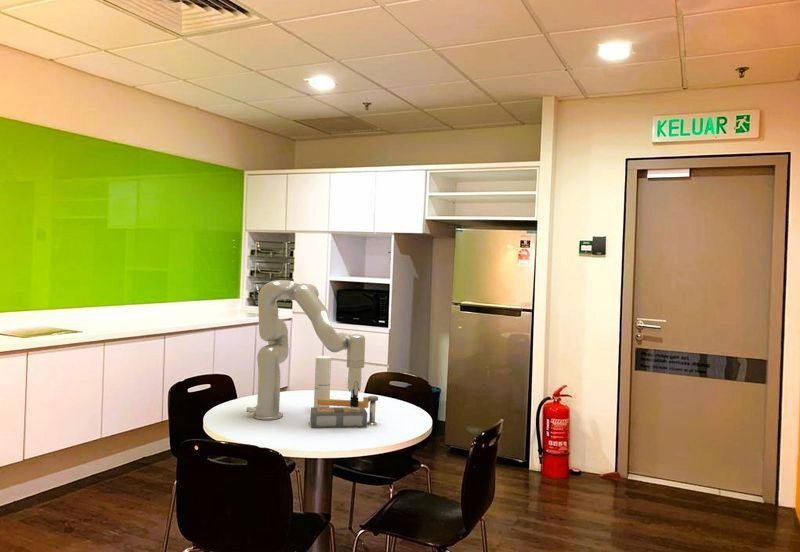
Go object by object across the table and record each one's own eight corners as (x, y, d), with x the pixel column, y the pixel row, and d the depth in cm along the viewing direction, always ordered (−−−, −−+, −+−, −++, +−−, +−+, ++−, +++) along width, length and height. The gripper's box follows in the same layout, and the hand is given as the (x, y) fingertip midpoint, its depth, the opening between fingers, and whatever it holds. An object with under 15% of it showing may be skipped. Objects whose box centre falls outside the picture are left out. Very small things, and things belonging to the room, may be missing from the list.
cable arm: (316, 405, 259) (317, 394, 259) (319, 403, 264) (319, 392, 264) (376, 409, 257) (377, 398, 257) (378, 407, 261) (378, 396, 261)
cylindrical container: (326, 413, 275) (328, 358, 274) (311, 412, 276) (313, 357, 276) (331, 410, 282) (333, 356, 281) (316, 408, 283) (318, 355, 283)
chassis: (311, 428, 249) (312, 413, 248) (310, 421, 260) (310, 406, 260) (366, 427, 253) (367, 412, 253) (363, 420, 264) (363, 406, 264)
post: (368, 425, 257) (368, 401, 257) (366, 422, 261) (367, 399, 261) (377, 425, 258) (378, 401, 258) (375, 422, 262) (376, 399, 262)
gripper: (345, 360, 264) (344, 402, 264) (347, 366, 249) (346, 410, 249) (362, 361, 265) (361, 402, 265) (366, 366, 250) (364, 410, 250)
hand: (354, 406), depth 257 cm, fingers closed
